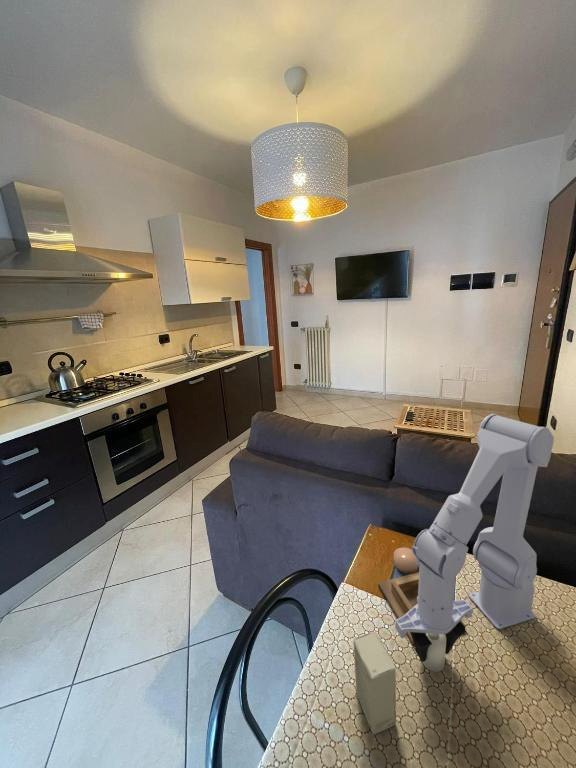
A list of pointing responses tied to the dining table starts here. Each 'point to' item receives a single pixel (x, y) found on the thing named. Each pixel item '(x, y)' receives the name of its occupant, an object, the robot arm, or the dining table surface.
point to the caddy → (402, 595)
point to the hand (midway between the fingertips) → (432, 652)
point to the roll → (436, 652)
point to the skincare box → (375, 682)
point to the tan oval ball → (405, 560)
